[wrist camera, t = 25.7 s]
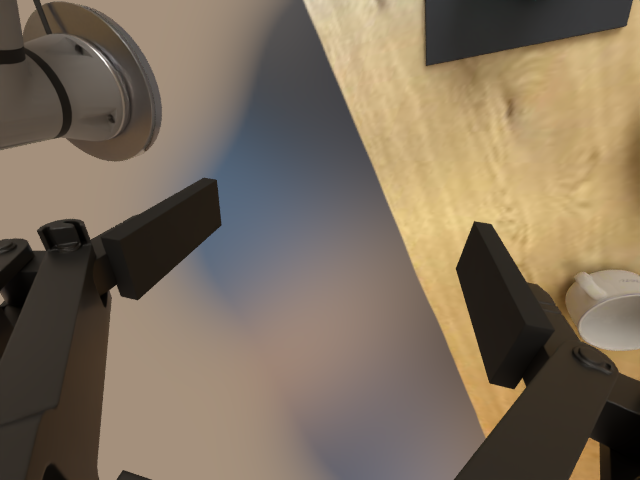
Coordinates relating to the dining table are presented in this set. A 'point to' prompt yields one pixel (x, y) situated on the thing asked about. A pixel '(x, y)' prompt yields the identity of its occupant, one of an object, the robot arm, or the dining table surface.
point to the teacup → (606, 308)
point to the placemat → (512, 24)
